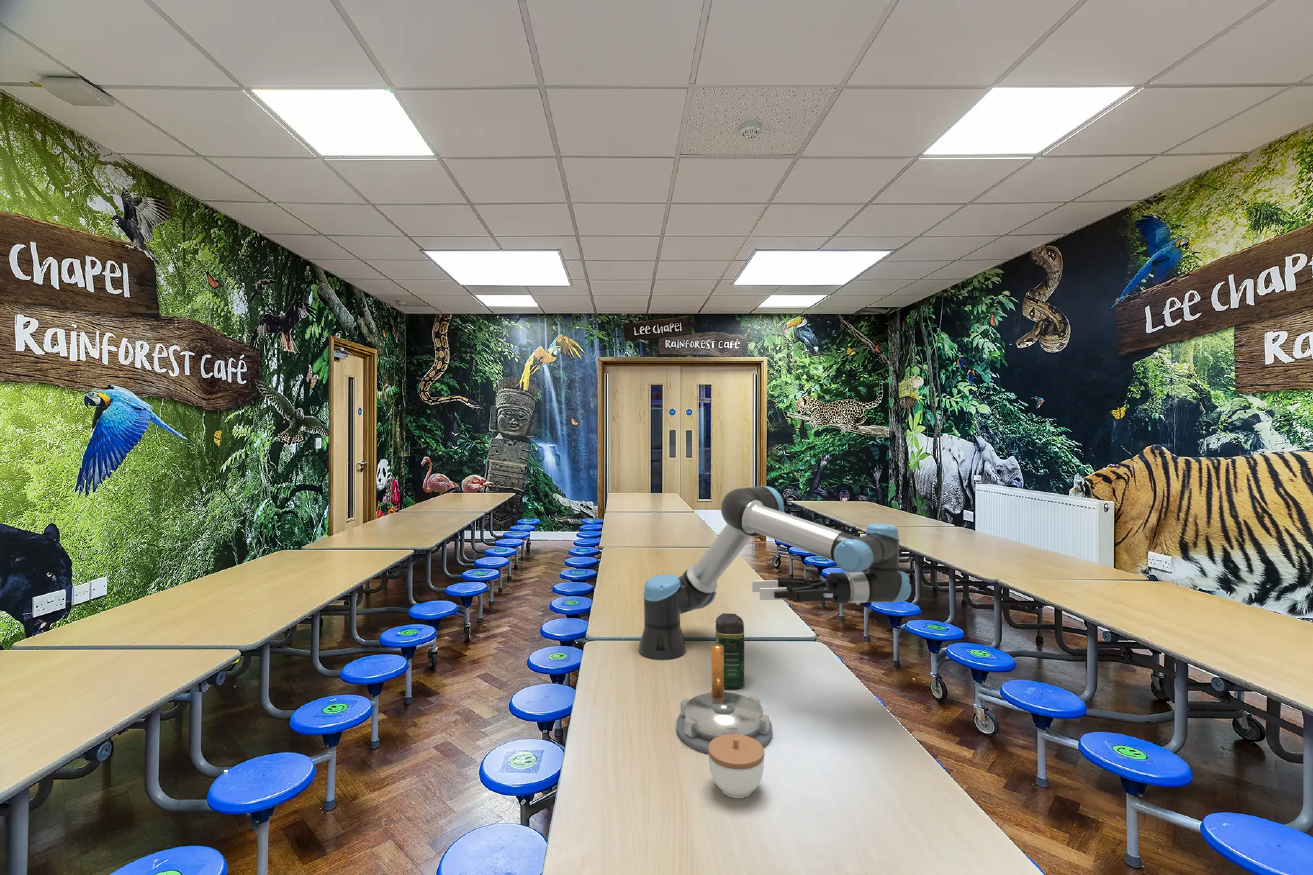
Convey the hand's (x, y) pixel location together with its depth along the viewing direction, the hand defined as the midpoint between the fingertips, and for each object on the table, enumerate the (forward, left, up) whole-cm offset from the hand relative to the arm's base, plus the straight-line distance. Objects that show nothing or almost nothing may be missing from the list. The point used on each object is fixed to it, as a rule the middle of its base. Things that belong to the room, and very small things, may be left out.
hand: (756, 590), depth 138 cm
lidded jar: (+18, -27, -30) cm, 44 cm away
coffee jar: (-16, +7, -30) cm, 35 cm away
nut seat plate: (+1, -13, -30) cm, 33 cm away
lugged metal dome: (+1, -13, -28) cm, 31 cm away
